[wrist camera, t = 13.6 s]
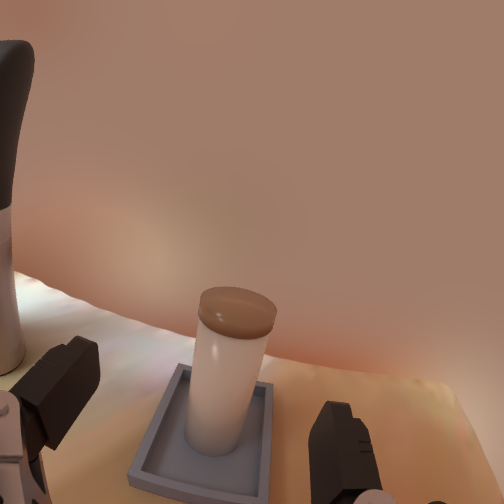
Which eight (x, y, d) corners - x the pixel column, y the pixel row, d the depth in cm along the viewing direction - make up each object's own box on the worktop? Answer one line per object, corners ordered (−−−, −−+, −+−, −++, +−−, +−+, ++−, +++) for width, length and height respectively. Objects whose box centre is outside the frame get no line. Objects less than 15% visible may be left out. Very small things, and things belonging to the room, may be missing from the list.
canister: (177, 448, 22) (191, 311, 18) (190, 411, 27) (209, 281, 23) (236, 462, 22) (276, 329, 18) (242, 423, 27) (277, 296, 23)
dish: (129, 485, 18) (127, 474, 17) (177, 376, 33) (178, 363, 32) (262, 515, 17) (268, 506, 17) (269, 396, 32) (273, 384, 32)
